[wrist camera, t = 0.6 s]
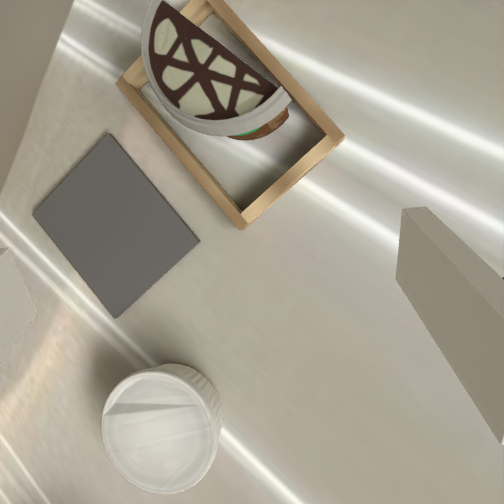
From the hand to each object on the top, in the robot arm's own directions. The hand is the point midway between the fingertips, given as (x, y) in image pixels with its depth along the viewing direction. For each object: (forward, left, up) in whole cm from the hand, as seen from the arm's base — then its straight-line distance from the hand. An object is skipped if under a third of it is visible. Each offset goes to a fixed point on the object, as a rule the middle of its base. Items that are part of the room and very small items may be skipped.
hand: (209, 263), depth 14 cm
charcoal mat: (+13, -12, -24) cm, 30 cm away
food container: (-3, -12, -24) cm, 27 cm away
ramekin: (+20, +6, -24) cm, 32 cm away
